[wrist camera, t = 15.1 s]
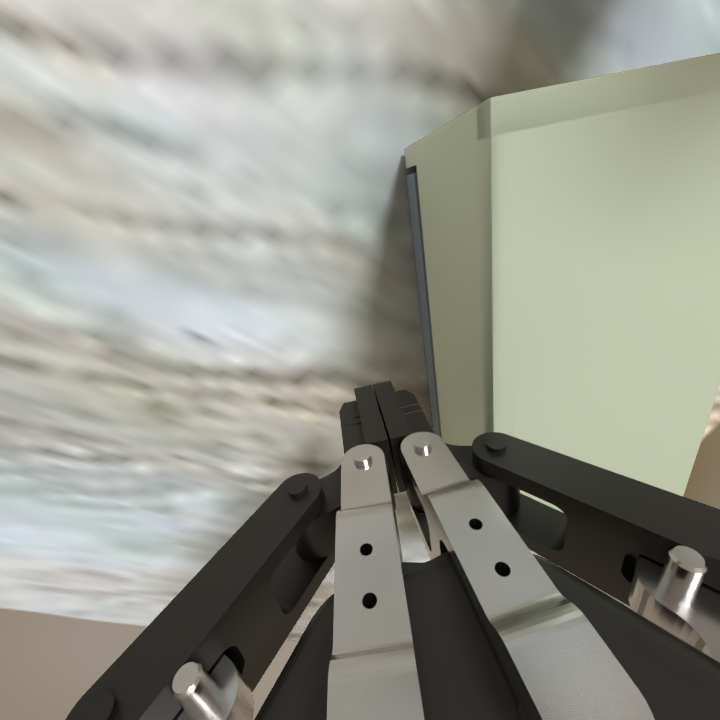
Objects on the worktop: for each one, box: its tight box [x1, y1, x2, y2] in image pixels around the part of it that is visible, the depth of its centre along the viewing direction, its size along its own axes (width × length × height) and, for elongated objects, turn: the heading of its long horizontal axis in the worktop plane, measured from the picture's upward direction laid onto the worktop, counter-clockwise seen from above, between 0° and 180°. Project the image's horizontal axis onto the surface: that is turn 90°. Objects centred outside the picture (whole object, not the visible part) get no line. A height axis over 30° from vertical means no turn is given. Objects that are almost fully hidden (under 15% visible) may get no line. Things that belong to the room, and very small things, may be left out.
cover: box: [404, 53, 720, 555], centre depth 16 cm, size 9×18×9 cm, turn 10°
